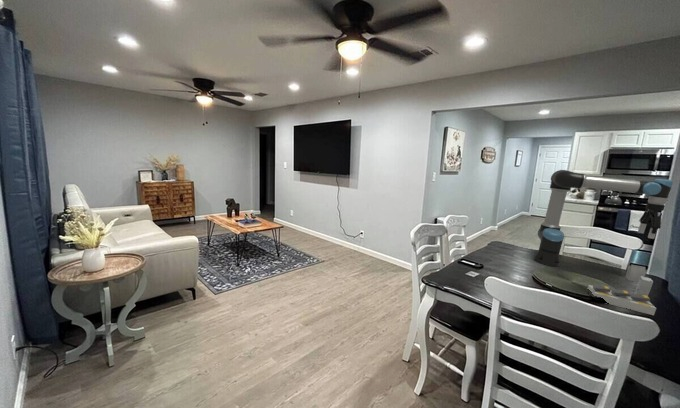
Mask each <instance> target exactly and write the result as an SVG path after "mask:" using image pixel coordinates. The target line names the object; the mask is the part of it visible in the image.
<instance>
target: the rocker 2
mask: <svg viewBox="0 0 680 408" xmlns="http://www.w3.org/2000/svg"><path fill="white" fill-rule="evenodd" d="M610 290H611V292H612V293H613V294H614V295H618V296H627V297H630V294H631V293H629V292H628V291H627V290H621V289H615V288H614V289H613V288H611V289H610Z"/></svg>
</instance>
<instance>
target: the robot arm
mask: <svg viewBox="0 0 680 408" xmlns="http://www.w3.org/2000/svg"><path fill="white" fill-rule="evenodd" d="M672 187H673V180H671V179H663V178H655V179H654V180H653V181H650V180H641V179H640V180H639V179H625V178H624V179H622V178H612V177H602V176H592V175H586V174H585V173H578V172H574V171H570V170H567V169H559V170H557V171H554V172H553V173H552V175H551V177H550V184H549V189H550V190H551V192H550V196H549V200H548V204H547V208H546V209H547V210H546V213H545V216H544V220H543V221H544V222H542V223H541V224H540V227H539V229H538V230H537V237H538V238H539V240H540V243H539V248H538V250H537V251H536V252H535V254H534V256H533V260H534V261H535V262H537V263H539V264H542V265H544V266H549V267H550V266H551V267H559V266H560V265H561V258H560V252H561V249H562V246H563V242H564V238H565V234H564V232H562V230H561V229H562V227H561V226H560V221H561V218H562V212H563V209H564V205H565V201H566V197H567V193H568V192H570V191H571V189H572V188H573V189H583V188H586V189H596V190H606V191H616V192H622V193H623V192H624V193H631V194H632V193H633V194H641V195H646V196H648V200H647V203H646V205H645V210H644V212H643V214H642V216H641V217H640V219H639V220H638V222H640V224H639V227H638V230H637V234H638V233H639V234H643V235H644V234H645V230H646V227H647V225H648V222H649V221H651V222H650V223H651V226H650V229H649V232H648V235H647V238H648V239H652V240H654V239H655V238H656V235H657V231H658V229H661V228H662V216H663V211H664V210H665V208H666V207H665V206H666V204H667V202H668V197H669V195H670V192H671V190H672Z"/></svg>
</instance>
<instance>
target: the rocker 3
mask: <svg viewBox="0 0 680 408" xmlns="http://www.w3.org/2000/svg"><path fill="white" fill-rule="evenodd" d="M629 294H630V297H631V298H632V299H633V300H640V301H648V302H650V303H651V298H650V297H649V295H648V296H646V295H637V294H634V293H629Z"/></svg>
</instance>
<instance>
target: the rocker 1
mask: <svg viewBox="0 0 680 408" xmlns="http://www.w3.org/2000/svg"><path fill="white" fill-rule="evenodd" d="M592 286H593V288H594V289H595V290H596V291H604V292H610V291H611V289H610V287H609V286H608V285H607V286H606V285H598V284H597V285H596V284H593V285H592Z"/></svg>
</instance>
